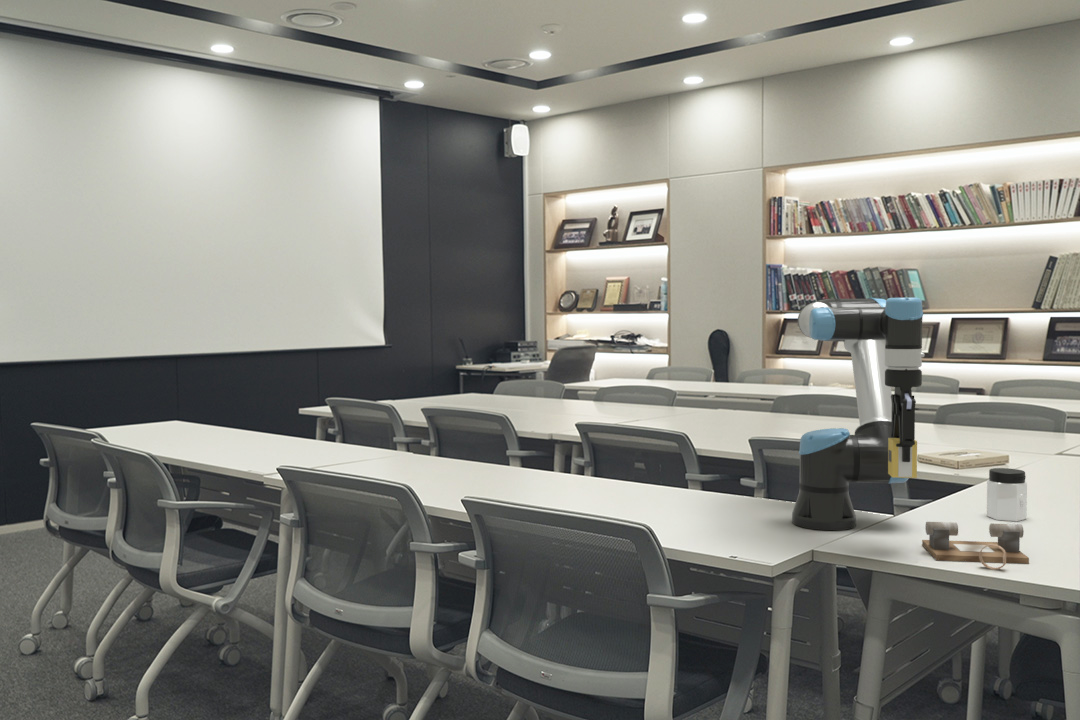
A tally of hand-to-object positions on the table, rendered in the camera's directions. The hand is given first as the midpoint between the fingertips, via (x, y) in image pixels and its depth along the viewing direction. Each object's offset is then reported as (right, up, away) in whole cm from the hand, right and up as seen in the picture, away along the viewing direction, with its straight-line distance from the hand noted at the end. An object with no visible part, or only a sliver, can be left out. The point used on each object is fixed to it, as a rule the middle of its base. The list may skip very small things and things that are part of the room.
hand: (902, 474), depth 202 cm
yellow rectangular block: (0, 0, 0) cm, 0 cm away
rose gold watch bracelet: (+12, -18, -15) cm, 26 cm away
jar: (+38, -15, +31) cm, 51 cm away
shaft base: (+14, -17, -4) cm, 22 cm away
